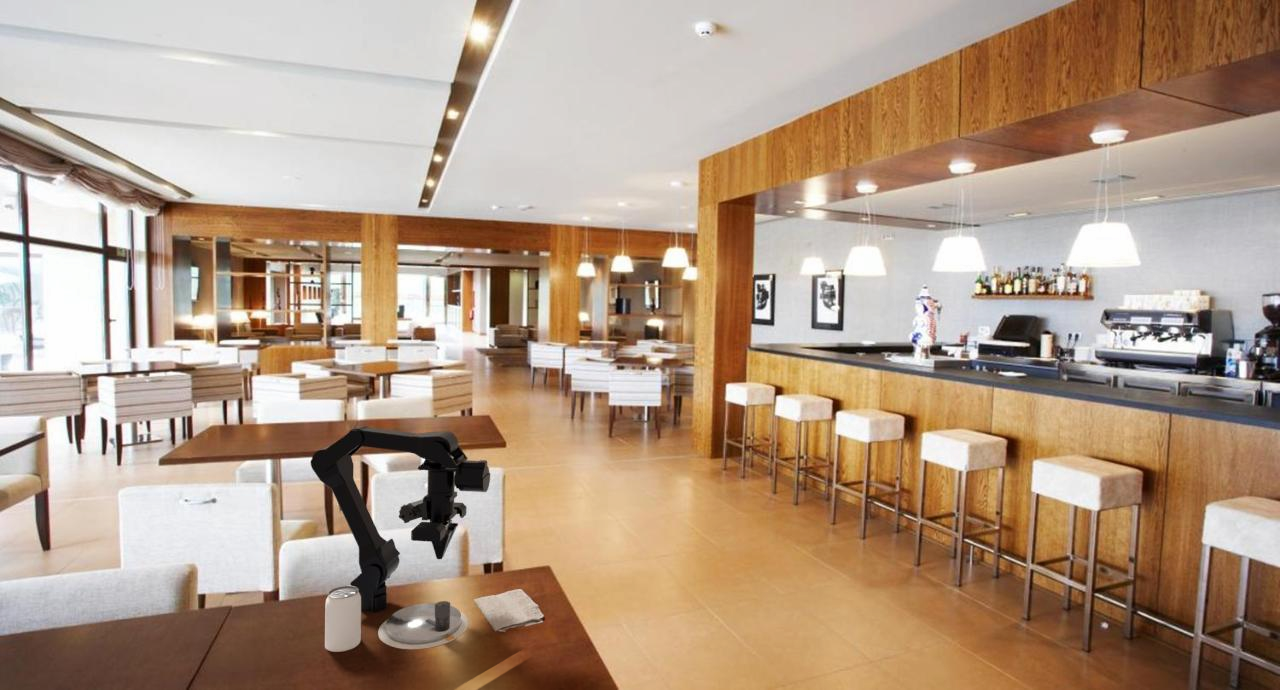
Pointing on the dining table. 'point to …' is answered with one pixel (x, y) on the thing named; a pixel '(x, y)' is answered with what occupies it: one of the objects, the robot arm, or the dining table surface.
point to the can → (342, 619)
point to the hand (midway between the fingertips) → (439, 558)
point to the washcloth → (509, 610)
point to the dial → (423, 623)
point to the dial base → (392, 643)
